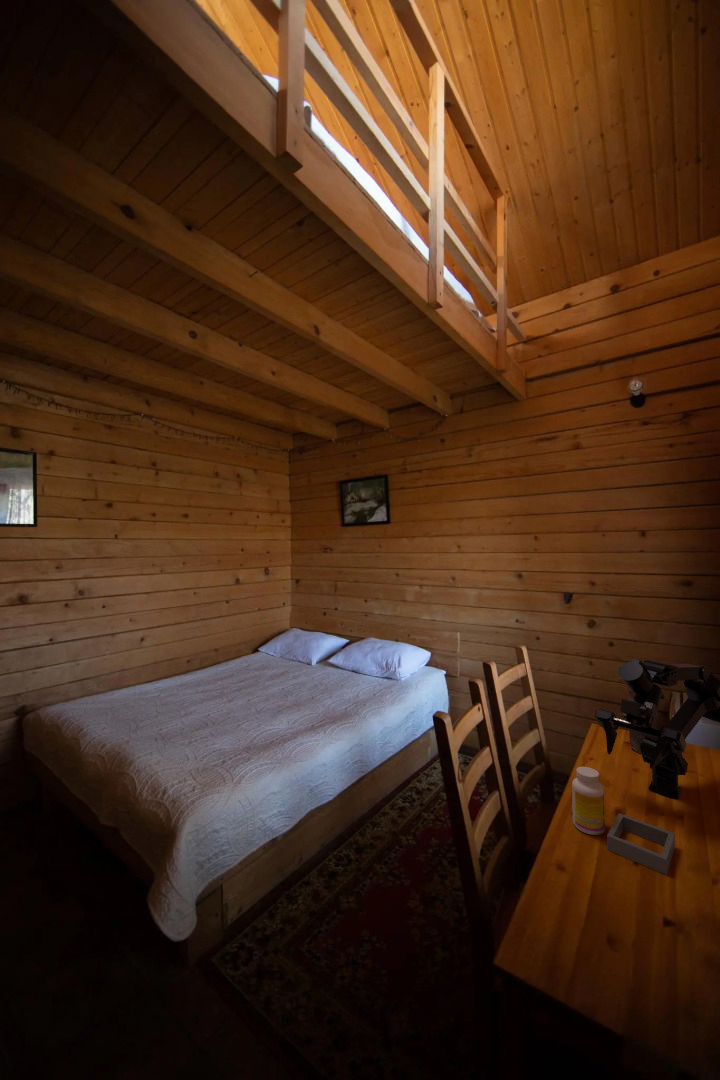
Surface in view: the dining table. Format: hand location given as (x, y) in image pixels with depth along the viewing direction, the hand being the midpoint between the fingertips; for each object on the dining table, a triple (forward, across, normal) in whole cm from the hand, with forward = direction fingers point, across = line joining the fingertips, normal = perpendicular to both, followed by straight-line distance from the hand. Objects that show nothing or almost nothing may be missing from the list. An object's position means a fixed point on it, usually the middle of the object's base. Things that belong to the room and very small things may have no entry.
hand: (629, 760), depth 104 cm
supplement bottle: (+18, -5, +2) cm, 18 cm away
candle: (-19, -10, +38) cm, 44 cm away
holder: (+17, +6, +3) cm, 18 cm away
